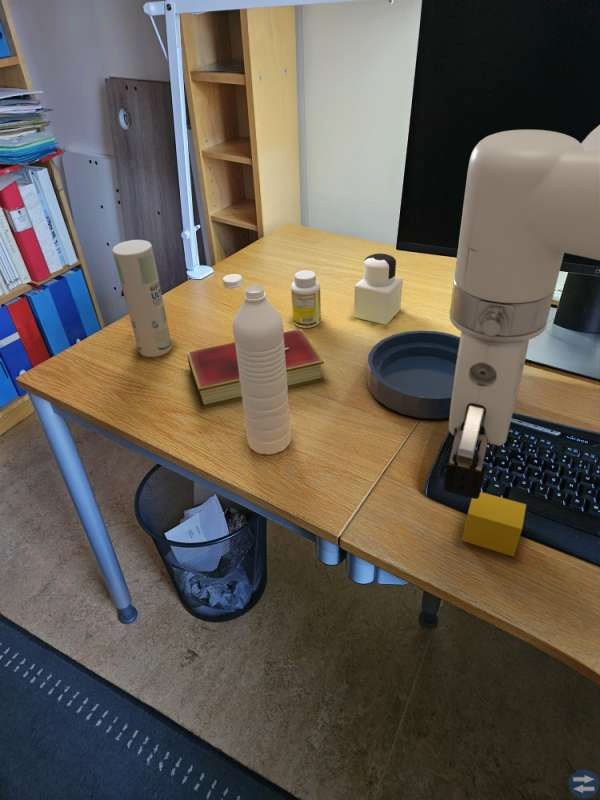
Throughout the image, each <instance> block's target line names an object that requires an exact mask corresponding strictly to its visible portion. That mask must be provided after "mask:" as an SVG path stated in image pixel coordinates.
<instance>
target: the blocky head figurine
mask: <svg viewBox="0 0 600 800" xmlns="http://www.w3.org/2000/svg"><path fill="white" fill-rule="evenodd" d="M396 270H397V260H396V258H395V257H394V256H392V255H390V254H387V253H372V254H369V255H367V256H366V257H365V258H364V260H363V278H362V279H360V280H359V281H358V282H357V283H356V284H354V309H353V310H354V311H353V312H354V313H353V315H354V318H356V319H360V320H365V321H369V322H372V323H376V324H380V325H384V326H386V325H388V324H389V323H390V322H391V321H392V320H393V319H394V318H395V316H396V315H397V314H398V313H399V312H400V311H401V307H402V293H403V283H404V282H403V280H404V278H403V277H401V276H396Z"/></svg>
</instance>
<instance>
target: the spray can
mask: <svg viewBox="0 0 600 800" xmlns="http://www.w3.org/2000/svg"><path fill="white" fill-rule="evenodd" d="M112 256H113V259H114V263H115V267H116V270H117V271H116V272H117V274H118V278H119V282H120V286H121V289H122V293H123V297H124V301H125V304H126V309H127V312H128V316H129V319H130V323H131V328H132V332H133V335H134V339H135V343H136V346H137V350H138V352H139V354H140V355H141V356H143V357H146V358H156V357H161V356H163V355H165V354H168V352H170V351H171V350H172V346H173V343H172V339H171V338H172V337H171V334H170V329H169V324H168V319H167V313H166V309H165V305H164V299H163V294H162V289H161V284H160V280H159V275H158V270H157V265H156V260H155V254H154V250H153V245H152V243H151V242H150V241H148V240H145V239H131V240H125V241H122V242H119V243H118V244H116V245H114V246H113V248H112Z"/></svg>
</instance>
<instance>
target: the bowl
mask: <svg viewBox="0 0 600 800" xmlns="http://www.w3.org/2000/svg"><path fill="white" fill-rule="evenodd" d="M460 337H461V336H458V335H455V334H452V333H448V332H443V331H436V330H411V331H403V332H400V333H395V334H391V335H389V336H387V337H385V338H383V339H381V340H380V341H378V342H377V343H376V344H374V345H373V347H372V348H371V350H370V351H369V353H368V356H367V363H366V364H367V365H366V366H367V367H366V385H367V387H368V390H369V392H370V393H371V394H372V396H373V397H374V398H375V399H376V401H378V402H380V403H381V404H382V405H384V407H386V408H388V409H389V410H393V411H395V412H397V413H398V414H399V413H400V414H402V415H406V416H410V417H414V418H419V419H433V420H439V419H440V420H441V419H448V418H450V408H451V400H452V392H453V384H454V376H455V369H456V362H457V356H458V349H459V343H460Z"/></svg>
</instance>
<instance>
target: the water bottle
mask: <svg viewBox="0 0 600 800" xmlns="http://www.w3.org/2000/svg"><path fill="white" fill-rule="evenodd" d="M222 282H223V287H224V288H225V289H228V290H236V289H239V288H241V287H243V285H244V280H243V275H241V274H239V273H231V274H227V275H224V277H223V278H222ZM266 296H267V293H266V292H265V288H264V287H263V286H262V285H260V284H252V285H251V284H250V285H249V286H247V287H245V289H244V294H243V299H244V301H243V302H242V304H241V306H240V308H239V309H238V310H237V312H236V314H235V315H234V318H233V322H232V334H233V339H234V343H235V346H236V355H237V362H238V370H239V379H240V386H241V394H242V399H243V400H242V407H243V416H244V419H245V420H244V424H245V430H246V440H247V444H248V446H249V448H250V449H251V450H253V451H254V452H255V453H257V454H260V455H276V454H277V453H281V452H283V451H284V450H286V449H287V448H288V446H289V445H290V444H291V441H292V432H291V431H292V430H291V418H290V407H289V406H290V405H289V401H290V400H289V396H288V394H289V389H288V387H287V374H286V364H285V363H286V361H285V348H284V332H285V328H284V321H283V318H282V316H281V313H280V312H279V311H278V310H277V309H276V307H274V305H273V304H272V303H271V302H270V301H269V300H268V299H267V298H266Z"/></svg>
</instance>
